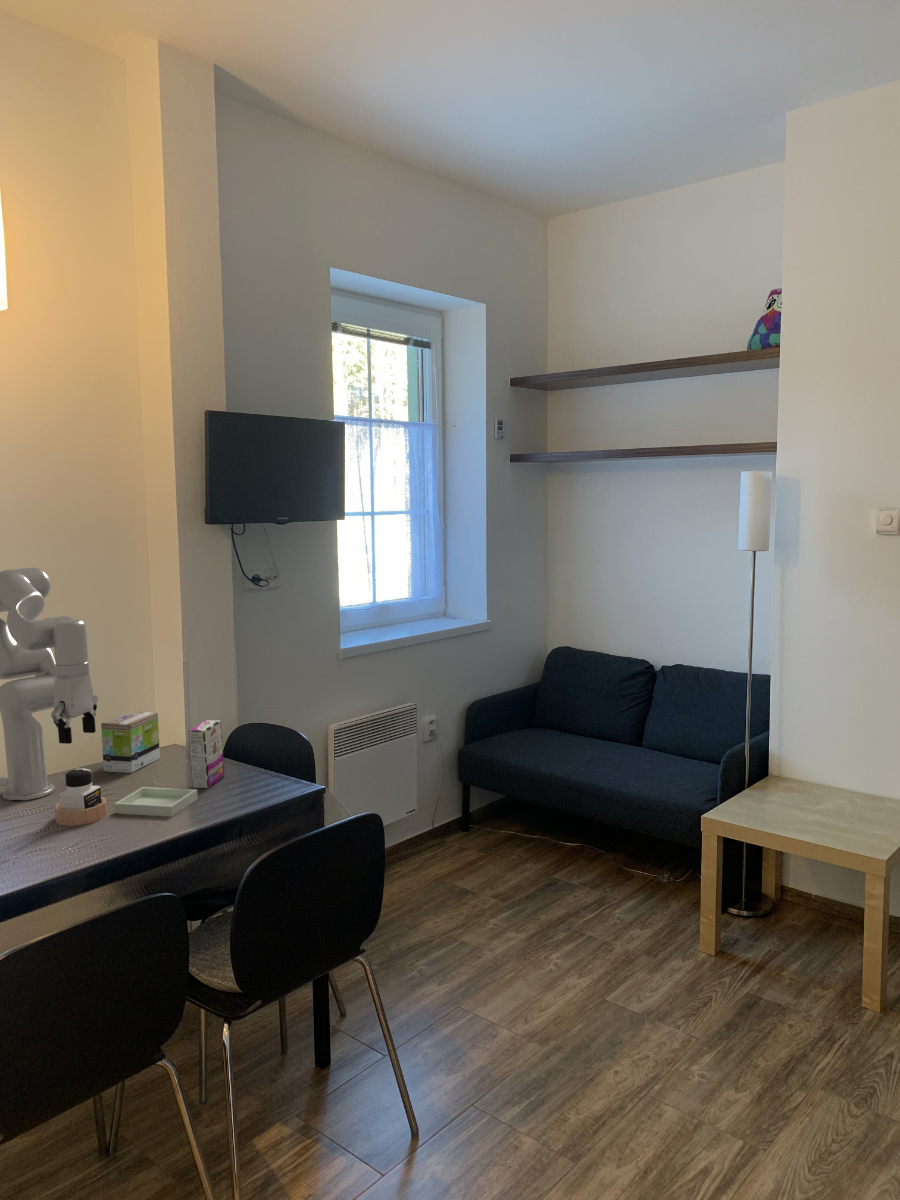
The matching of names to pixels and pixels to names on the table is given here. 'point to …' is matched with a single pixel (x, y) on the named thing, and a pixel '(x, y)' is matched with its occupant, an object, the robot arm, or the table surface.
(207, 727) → the candy bar box
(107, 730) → the tea box
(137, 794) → the tray
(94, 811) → the faceted tan ring
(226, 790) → the table surface
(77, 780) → the medicine bottle
